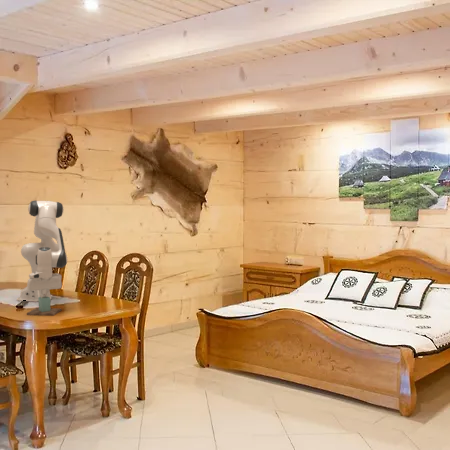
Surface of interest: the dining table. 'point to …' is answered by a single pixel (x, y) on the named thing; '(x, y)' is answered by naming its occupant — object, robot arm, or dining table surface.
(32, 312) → the board
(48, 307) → the teal rounded block
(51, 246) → the robot arm
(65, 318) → the dining table surface
